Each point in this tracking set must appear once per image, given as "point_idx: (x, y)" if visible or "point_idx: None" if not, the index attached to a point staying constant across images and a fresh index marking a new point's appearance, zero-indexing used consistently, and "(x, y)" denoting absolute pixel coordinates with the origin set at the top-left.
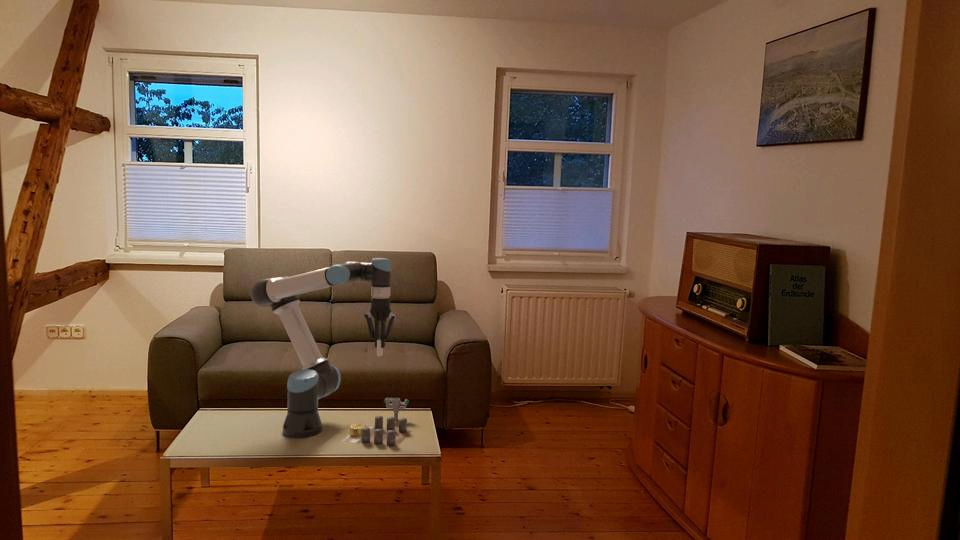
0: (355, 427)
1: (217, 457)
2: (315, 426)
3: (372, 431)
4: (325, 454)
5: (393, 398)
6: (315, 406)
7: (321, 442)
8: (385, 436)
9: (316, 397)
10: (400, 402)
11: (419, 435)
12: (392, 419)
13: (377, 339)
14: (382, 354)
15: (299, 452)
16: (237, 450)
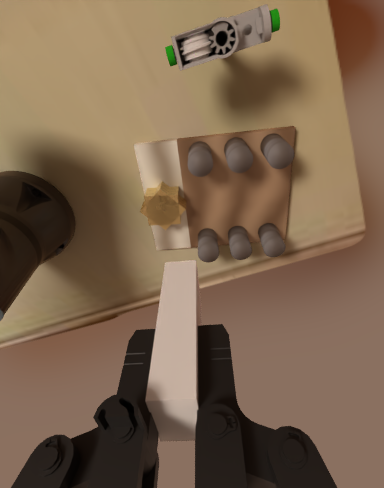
0: (162, 219)
1: (20, 341)
2: (65, 235)
3: (191, 174)
4: (160, 291)
5: (203, 28)
6: (33, 254)
7: (115, 252)
8: (238, 194)
9: (18, 266)
10: (235, 21)
11: (320, 134)
12: (248, 168)
13: (155, 438)
14: (196, 267)
15: (113, 298)
16: (18, 318)
